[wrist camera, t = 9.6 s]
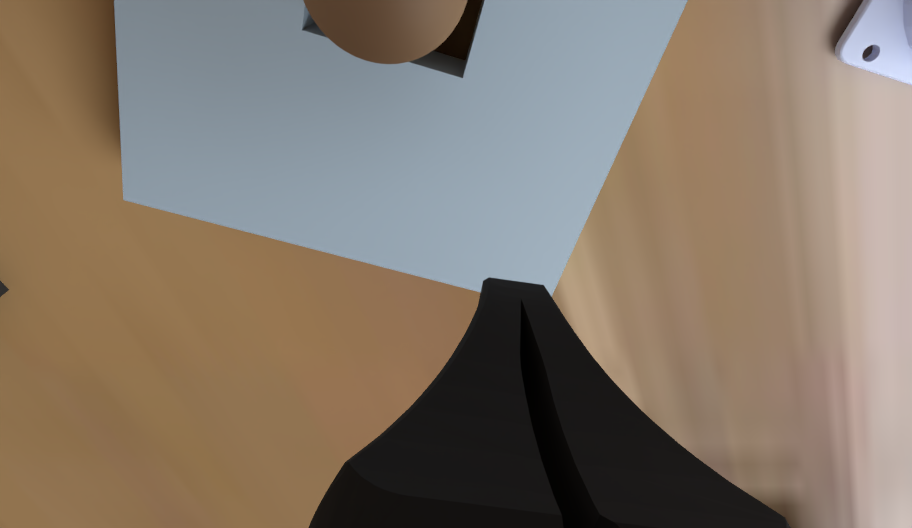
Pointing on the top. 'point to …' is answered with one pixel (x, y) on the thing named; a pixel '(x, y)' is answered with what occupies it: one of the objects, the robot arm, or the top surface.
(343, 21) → the walnut peg
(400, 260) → the socket board
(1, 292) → the computer keyboard
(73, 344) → the top surface
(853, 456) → the top surface
